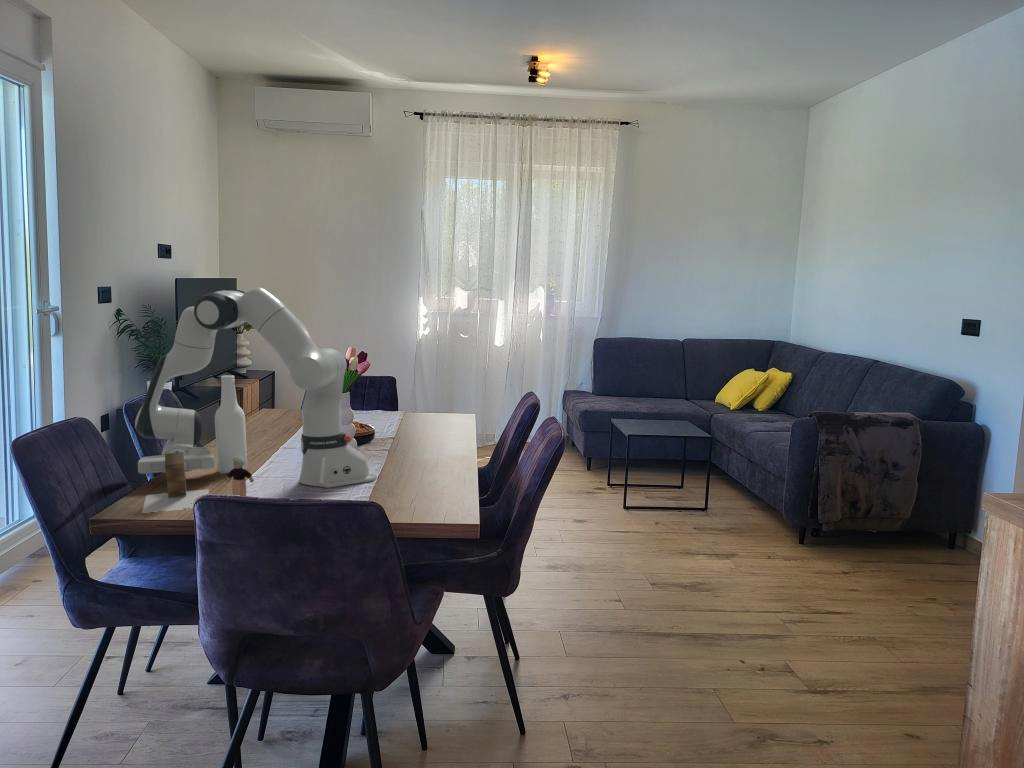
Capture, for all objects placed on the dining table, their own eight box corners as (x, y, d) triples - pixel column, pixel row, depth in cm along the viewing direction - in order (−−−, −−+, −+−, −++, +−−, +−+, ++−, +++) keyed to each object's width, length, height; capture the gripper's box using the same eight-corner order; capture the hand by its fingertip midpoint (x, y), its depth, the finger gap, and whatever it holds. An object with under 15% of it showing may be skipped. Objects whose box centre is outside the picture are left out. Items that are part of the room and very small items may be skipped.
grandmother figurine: (224, 503, 206) (221, 457, 205) (228, 499, 210) (225, 454, 208) (253, 503, 207) (251, 457, 205) (256, 499, 211) (254, 453, 209)
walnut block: (186, 485, 215) (183, 452, 208) (186, 496, 212) (183, 463, 205) (168, 486, 213) (165, 453, 207) (168, 497, 210) (164, 464, 203)
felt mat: (208, 490, 219) (208, 489, 219) (208, 508, 202) (208, 506, 202) (146, 496, 213) (146, 495, 213) (141, 515, 196) (141, 513, 196)
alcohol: (216, 475, 235) (210, 378, 231) (219, 468, 244) (213, 374, 239) (246, 473, 238) (241, 377, 233) (248, 466, 246) (243, 373, 242)
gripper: (138, 450, 225) (134, 461, 212) (213, 445, 232) (214, 455, 219) (139, 471, 225) (135, 483, 213) (214, 465, 233) (215, 476, 220)
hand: (176, 469), depth 216 cm, fingers closed
